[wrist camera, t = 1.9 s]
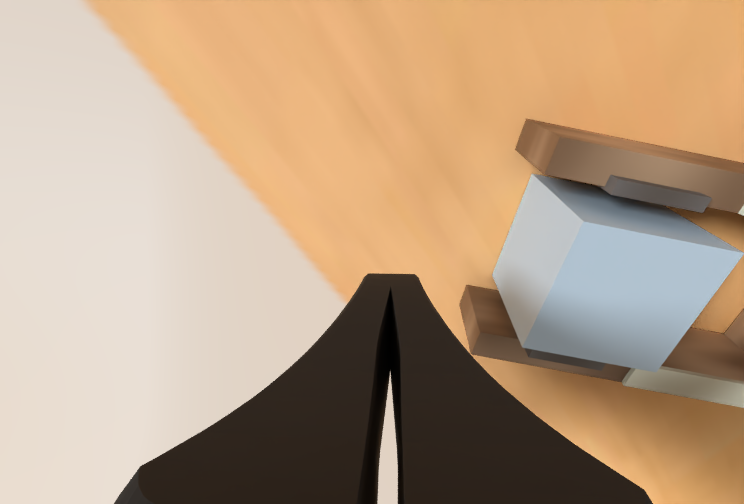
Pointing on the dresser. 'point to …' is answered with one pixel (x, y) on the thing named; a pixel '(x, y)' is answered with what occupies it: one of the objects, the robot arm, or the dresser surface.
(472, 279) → the dresser surface
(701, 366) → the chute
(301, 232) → the dresser surface
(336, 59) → the dresser surface
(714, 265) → the slate block
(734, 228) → the dresser surface
